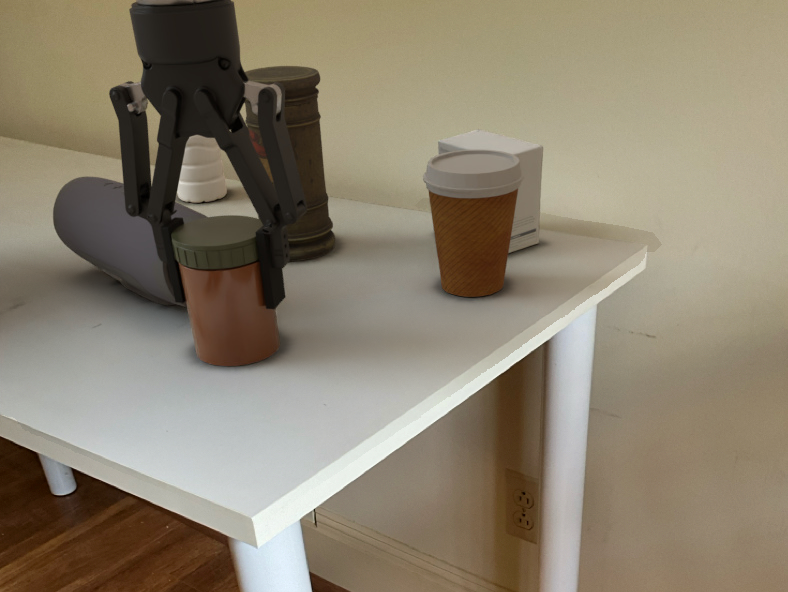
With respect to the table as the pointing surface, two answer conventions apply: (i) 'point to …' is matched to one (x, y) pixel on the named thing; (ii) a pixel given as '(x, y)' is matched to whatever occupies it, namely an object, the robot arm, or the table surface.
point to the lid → (217, 242)
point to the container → (299, 155)
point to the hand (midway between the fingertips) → (230, 299)
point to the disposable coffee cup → (473, 217)
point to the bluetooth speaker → (114, 236)
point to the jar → (230, 314)
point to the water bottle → (201, 171)
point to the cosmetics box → (530, 188)
